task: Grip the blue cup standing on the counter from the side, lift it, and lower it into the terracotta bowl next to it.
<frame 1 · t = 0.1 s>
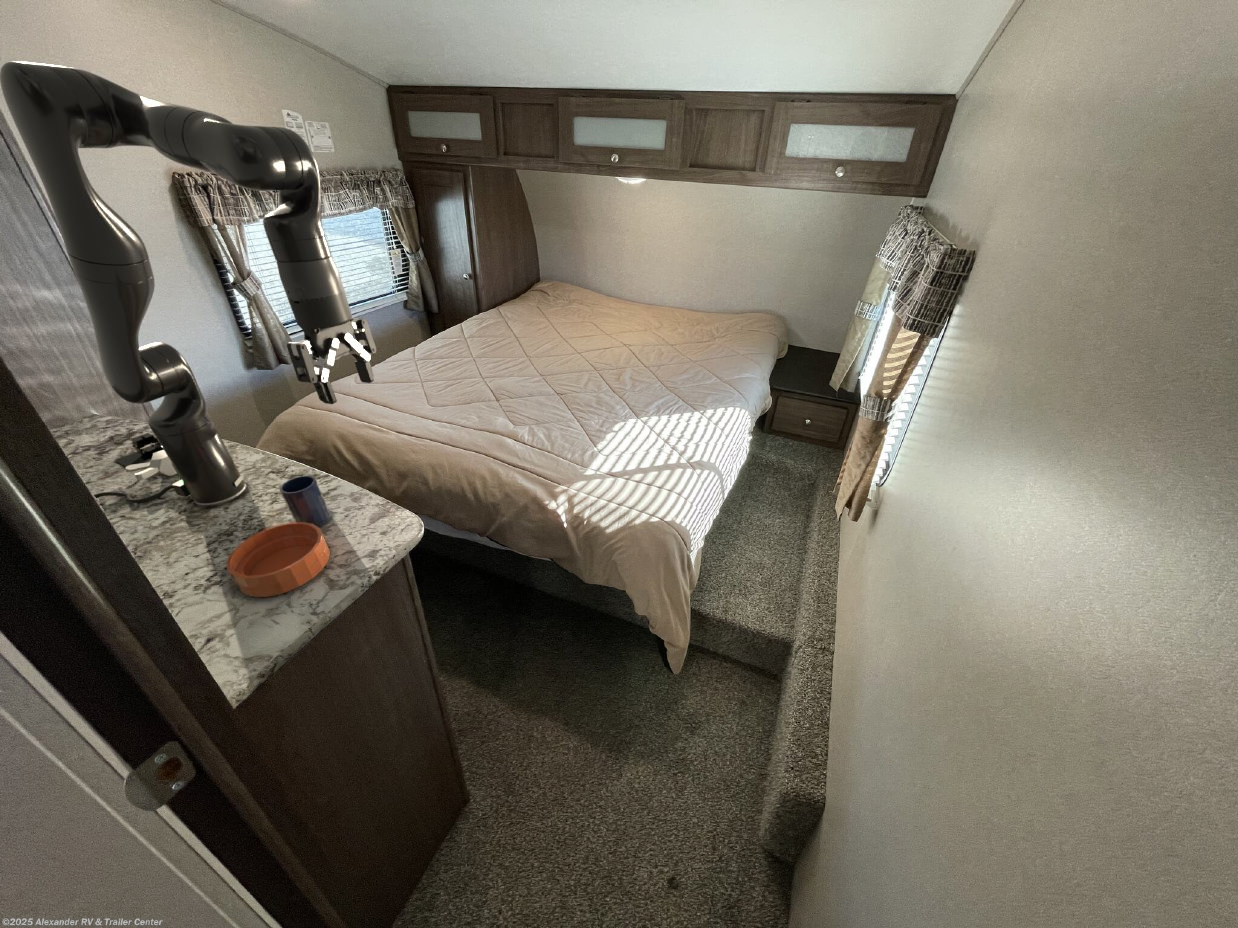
hand: (349, 392, 81), 29 cm above the dresser, tool pointing down, fingers open, 8 cm apart
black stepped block: (152, 453, 123), on the dresser
blue cup: (314, 520, 99), on the dresser
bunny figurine: (178, 471, 116), on the dresser
bowl: (286, 568, 87), on the dresser
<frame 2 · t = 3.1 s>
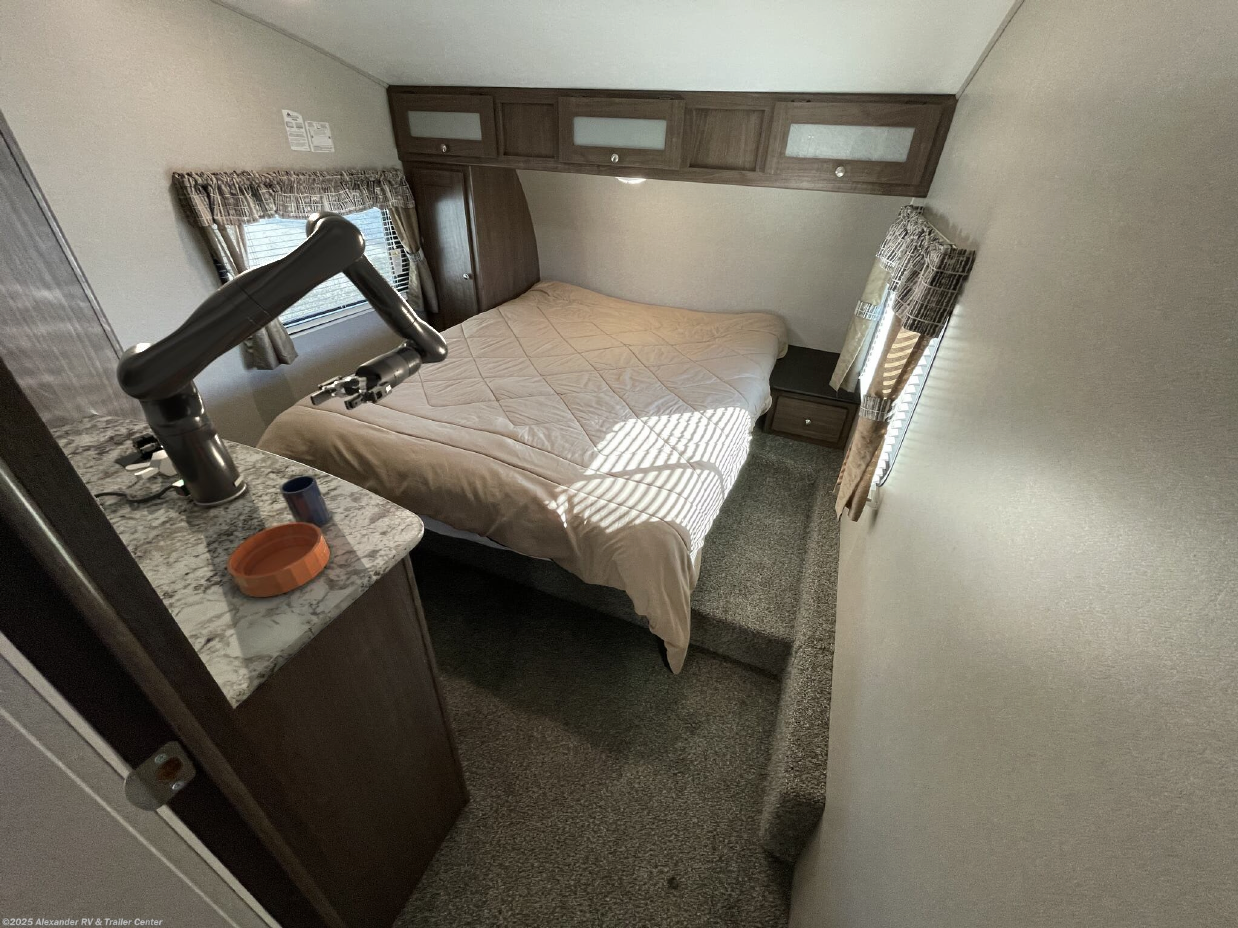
hand: (329, 403, 99), 20 cm above the dresser, tool horizontal, fingers open, 8 cm apart
nothing on the dresser moved.
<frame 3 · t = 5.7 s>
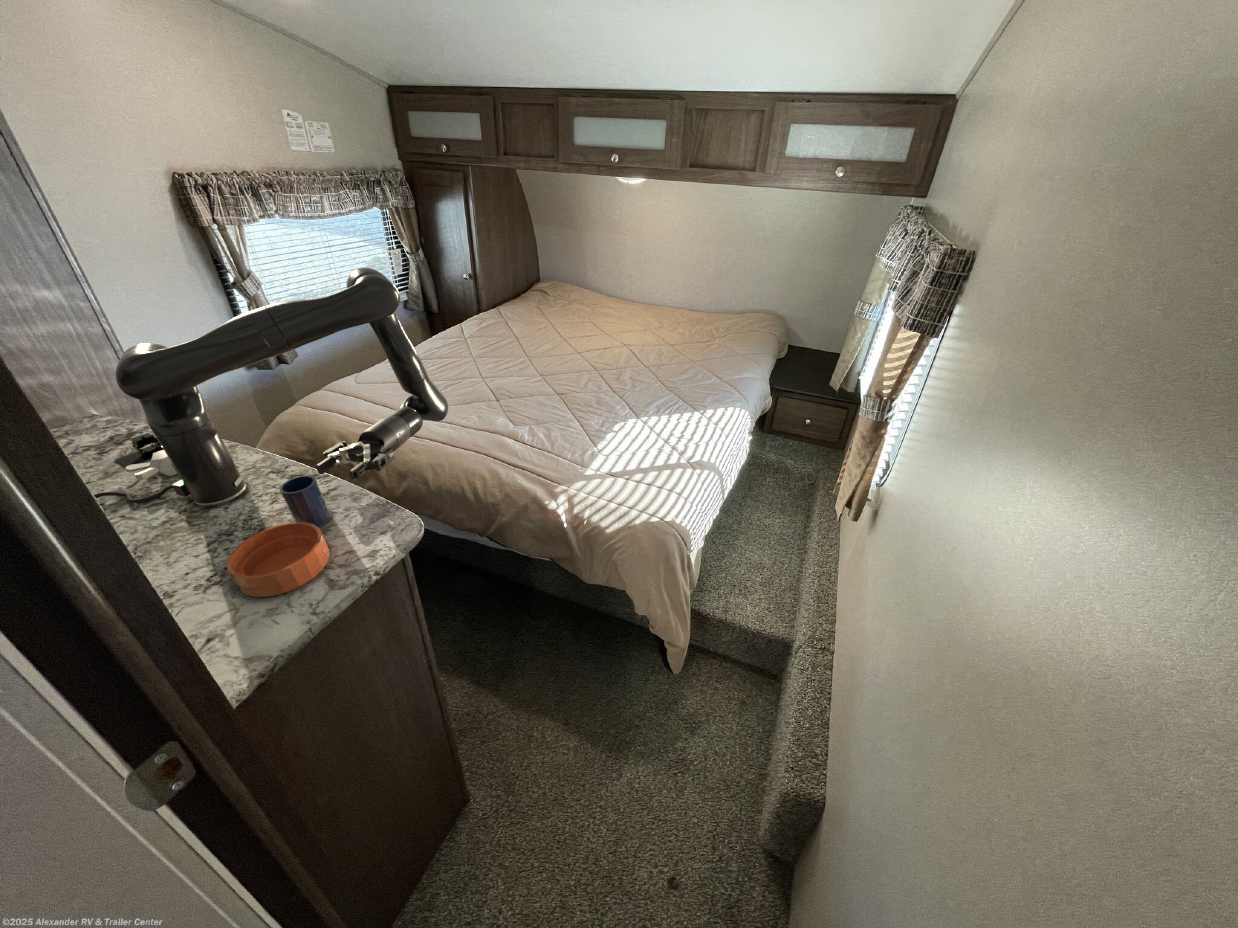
hand: (334, 473, 102), 6 cm above the dresser, tool horizontal, fingers open, 8 cm apart
nothing on the dresser moved.
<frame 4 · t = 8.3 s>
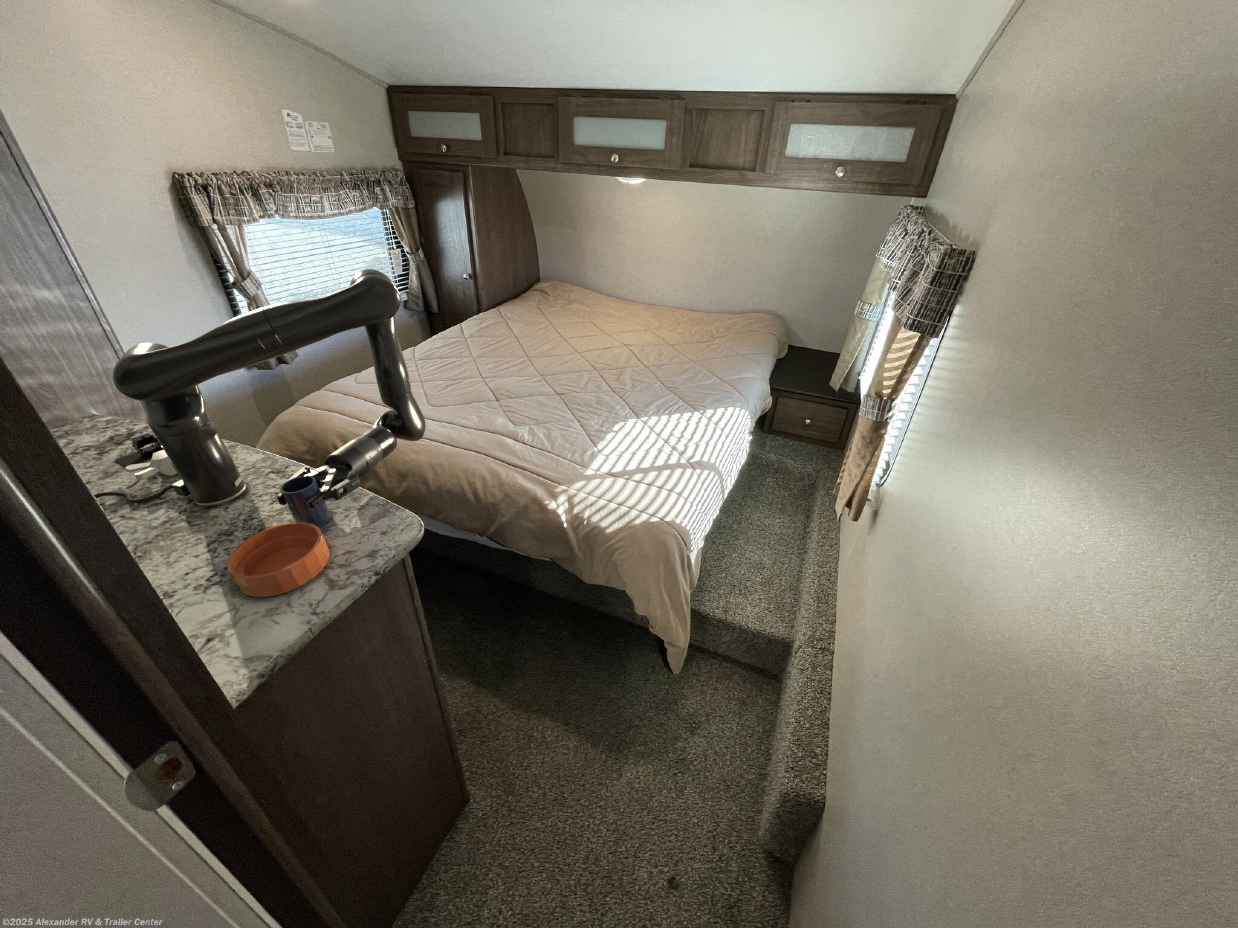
hand: (293, 503, 94), 6 cm above the dresser, tool horizontal, fingers closed on blue cup, 6 cm apart
blue cup: (314, 520, 99), on the dresser, touching gripper
everything else where it was.
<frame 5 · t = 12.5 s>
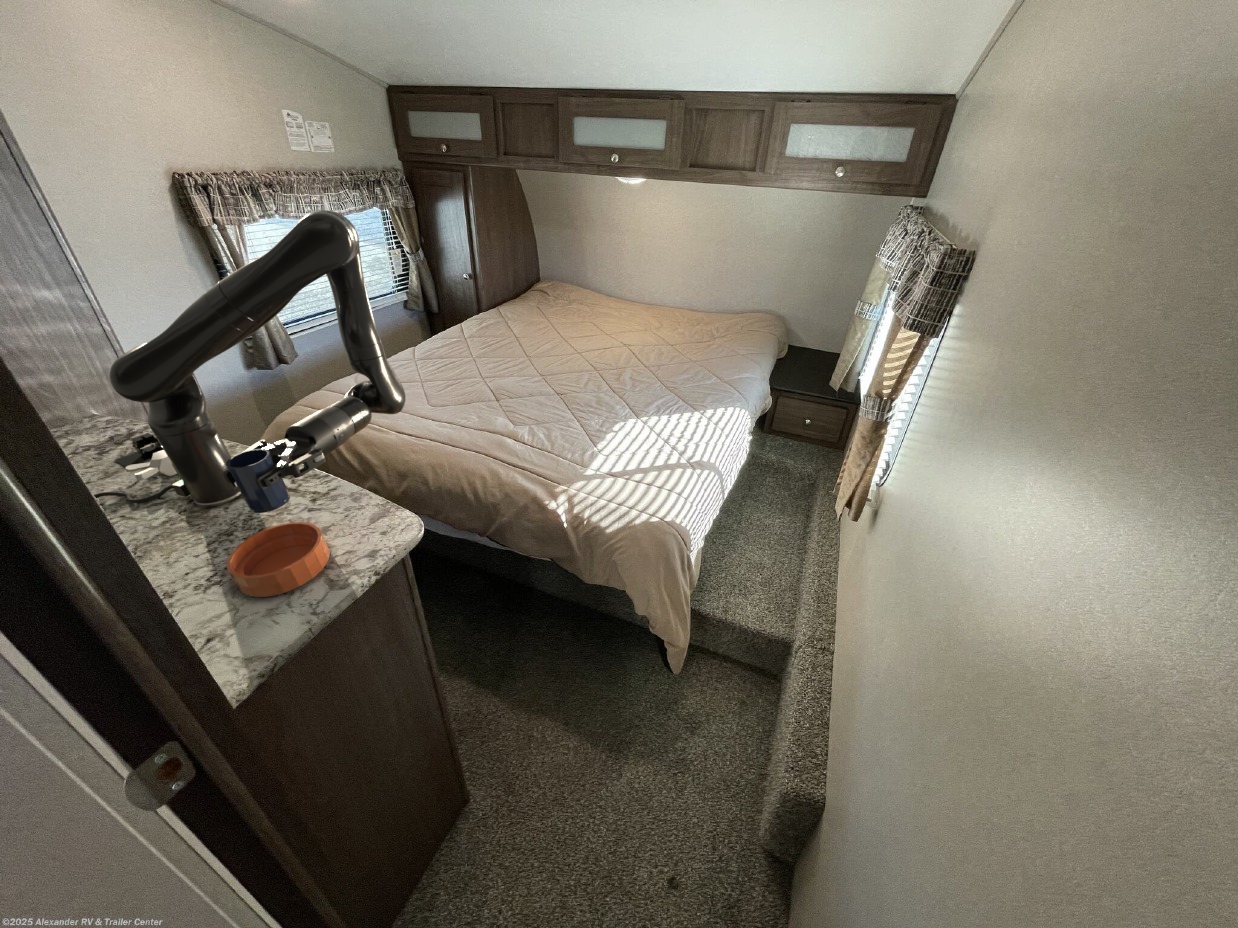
hand: (242, 481, 79), 18 cm above the dresser, tool horizontal, fingers closed on blue cup, 6 cm apart
blue cup: (270, 502, 84), point 12 cm above the dresser, touching gripper
everything else where it was.
when the fingers open (7 cm above the dresser, at t = 16.9 s): blue cup stays where it is, resting on bowl.
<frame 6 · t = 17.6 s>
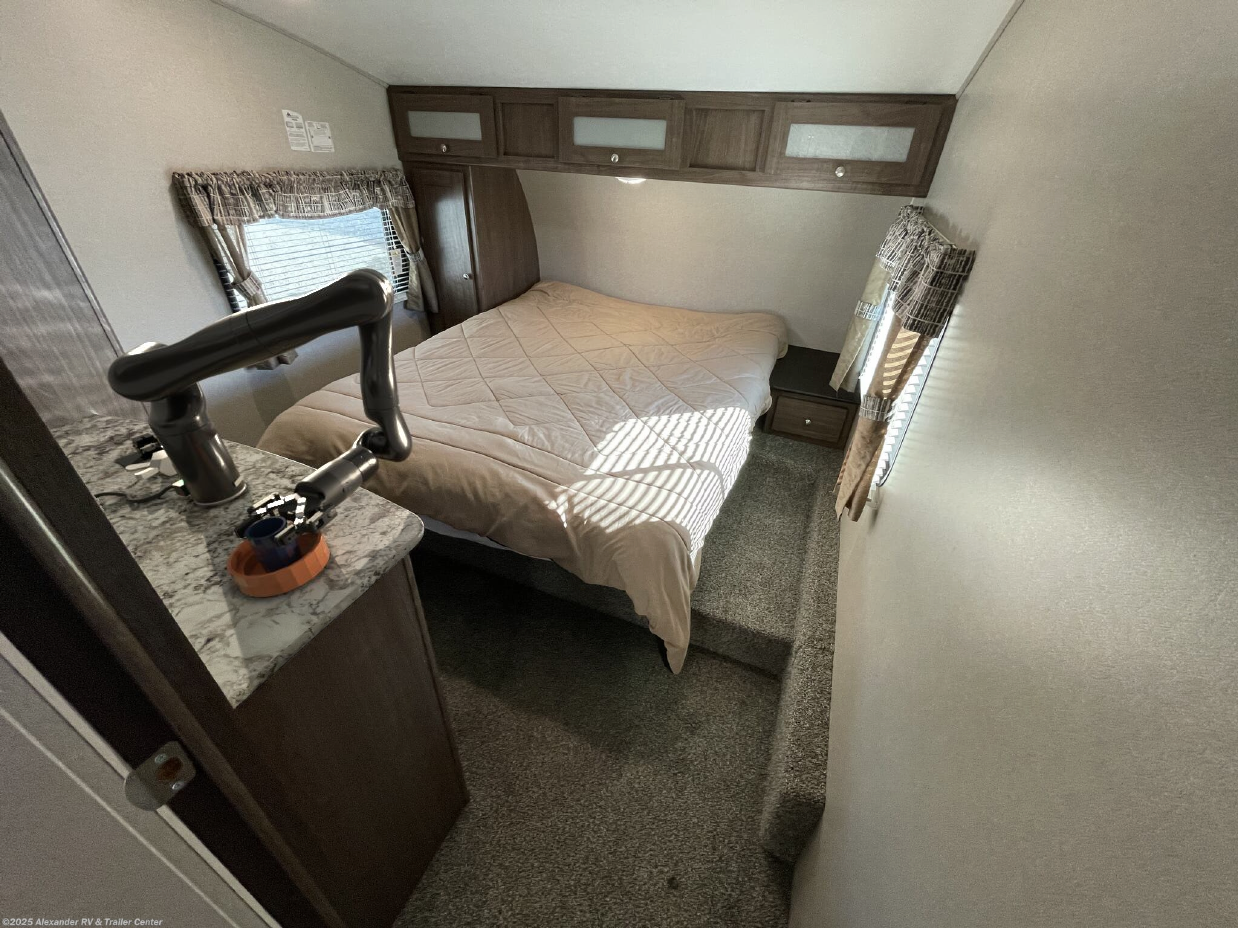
hand: (256, 539, 81), 9 cm above the dresser, tool horizontal, fingers open, 8 cm apart
blue cup: (286, 566, 87), point 1 cm above the dresser, touching bowl
everything else where it was.
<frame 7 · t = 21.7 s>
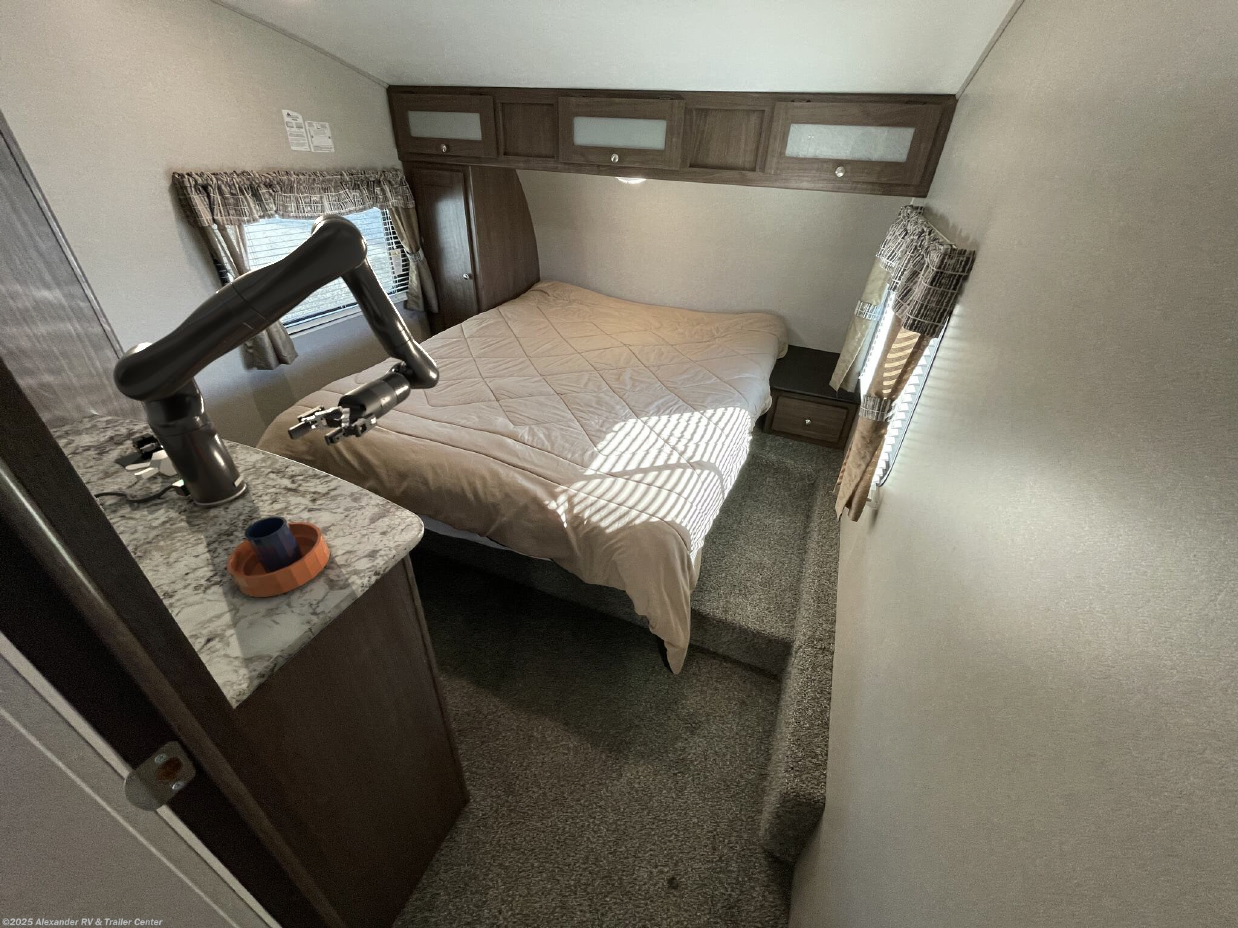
hand: (308, 438, 91), 18 cm above the dresser, tool horizontal, fingers open, 8 cm apart
nothing on the dresser moved.
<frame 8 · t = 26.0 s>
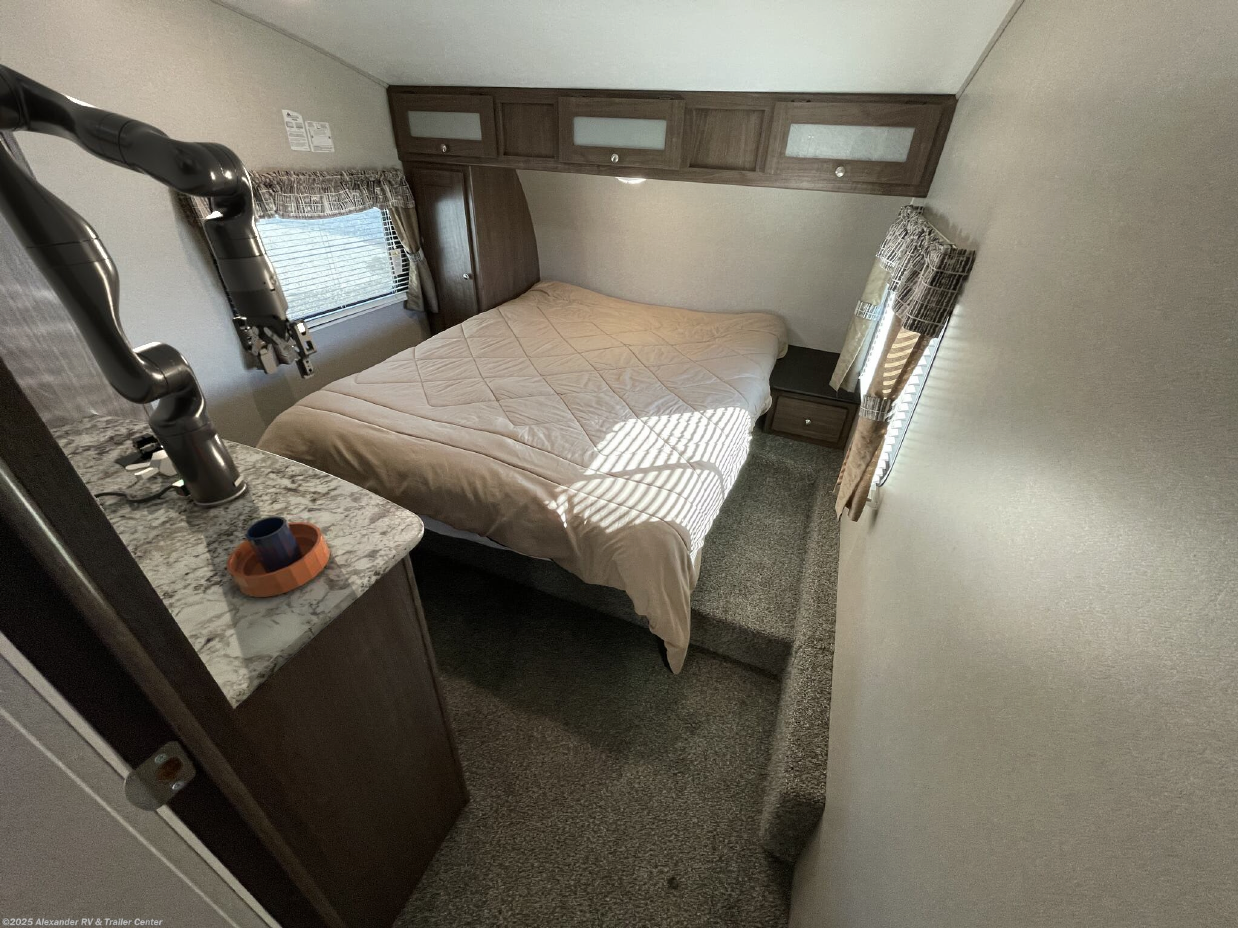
hand: (290, 375, 90), 28 cm above the dresser, tool pointing down, fingers open, 8 cm apart
nothing on the dresser moved.
at the end: blue cup inside the target area in the bowl (0.1 cm from its centre), point 0.6 cm above the bowl's base; the gripper is holding nothing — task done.
